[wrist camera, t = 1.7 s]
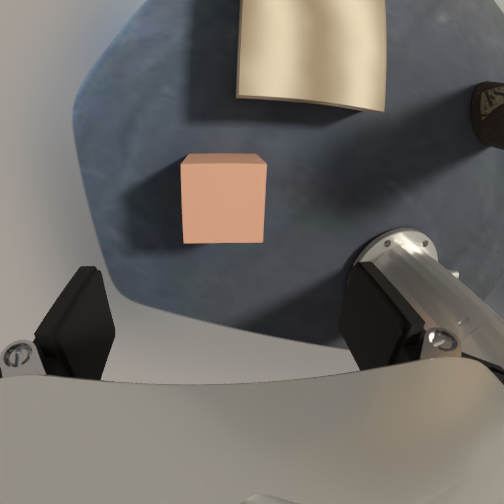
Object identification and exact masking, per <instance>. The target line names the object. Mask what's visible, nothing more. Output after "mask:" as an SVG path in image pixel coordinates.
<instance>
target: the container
mask: <svg viewBox="0 0 504 504" xmlns="http://www.w3.org/2000/svg"><path fill="white" fill-rule="evenodd" d="M471 116H472V122H473V126H474V129H475V131H476V133H477V135H478V137H479V138H480V140H481V141H482V142H483V143H484V144H486V145H488V146H492V147H495V148H499V149H503V150H504V83H498V82H488V81H487V82H483V83H481V84H480V85H479V86H478V87H477V88H476V90H475V92H474V94H473V98H472V105H471Z"/></svg>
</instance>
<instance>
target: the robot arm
mask: <svg viewBox="0 0 504 504" xmlns="http://www.w3.org/2000/svg"><path fill="white" fill-rule="evenodd" d="M458 276H459V274H458V272H457V270H447V269H446V268H444V267H443V266H442V265H441V264H440V263H438V257H437V251H436V249H435V246H434V244H433V243H432V241H431V240H430V239H429V238H428V237H427V236H426V235H424V234H423V233H421V232H419V231H418V230H415V229H411V228H399V229H394V230H391V231H388V232H386V233H384V234H382V235H380V236H379V237H377V238H376V239H374V240H373V241H372V242H371V243H370V244H368V245H367V246H366V248H365V249H364V250H363V251H362V252H361V253H360V255H359V256H358V258H357V259H356V261H355V262H354V264H353V266H352V267H351V270H350V274H349V278H348V281H347V290H346V294H345V299H344V303H343V307H342V312H341V316H340V320H339V330H340V332H341V334H342V336H343V338H344V340H345V342H346V344H347V346H348V347H349V349H350V351H351V353H352V355H353V357H354V359H355V361H356V363H357V365H358V367H359V369H360V371H356V372H349V373H343V374H336V375H329V376H321V377H313V378H304V379H294V380H284V381H272V382H258V383H241V384H211V385H210V384H208V385H178V384H177V385H176V384H143V383H127V382H114V381H103V380H101V376H102V373H103V370H104V367H105V364H106V361H107V358H108V355H109V352H110V349H111V346H112V344H113V341H114V338H115V326H114V323H113V319H112V315H111V312H110V308H109V304H108V299H107V295H106V291H105V287H104V283H103V278H102V274H101V271H100V270H97V269H96V267H95V266H81V267H80V268H79V269H78V270H77V272H76V273H75V275H74V276H73V277H72V279H71V280H70V281H69V283H68V284H67V286H66V287H65V288H64V290H63V291H62V293H61V294H60V295H59V297H58V298H57V300H56V301H55V303H54V304H53V306H52V307H51V309H50V310H49V312H48V313H47V315H46V316H45V318H44V319H43V321H42V322H41V324H40V325H39V327H38V329H37V330H36V332H35V333H34V335H35V337H36V338H35V339H34V341H33V342H31V341H28V340H18V341H15V342H13V343H11V344H9V345H8V346H7V347H6V348H5V349H4V350H3V352H2V353H1V356H0V366H1V367H0V504H504V321H503V320H502V319H501V318H500V317H499V316H498V315H497V314H496V313H495V312H493V311H492V310H491V309H490V308H489V307H488V306H487V305H486V304H485V303H484V302H483V301H482V300H481V299H480V298H479V297H478V296H476V295H475V294H474V293H473V292H472V291H471V290H470V289H469V288H468V287H466V286H465V285H464V284H463V283H462V282H461V281H460V280H458Z"/></svg>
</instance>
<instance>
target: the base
mask: <svg viewBox="0 0 504 504" xmlns="http://www.w3.org/2000/svg"><path fill="white" fill-rule="evenodd" d="M385 87H386V13H385V0H240V12H239V31H238V52H237V75H236V99H262V100H278V101H291V102H301V103H311V104H319V105H327V106H335V107H342V108H348V109H354V110H360V111H375V112H384V106H385Z"/></svg>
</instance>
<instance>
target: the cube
mask: <svg viewBox="0 0 504 504" xmlns="http://www.w3.org/2000/svg"><path fill="white" fill-rule="evenodd" d="M266 170H267V164H266V163H265V162H264V161H263V160H262V159H261V158H260V157H259V156H258V155H257V154H188V155H187V157H186V158H185V159H184V161H183V162H182V163H181V195H182V220H183V240H184V243H254V242H263V229H264V210H265V190H266Z"/></svg>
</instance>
